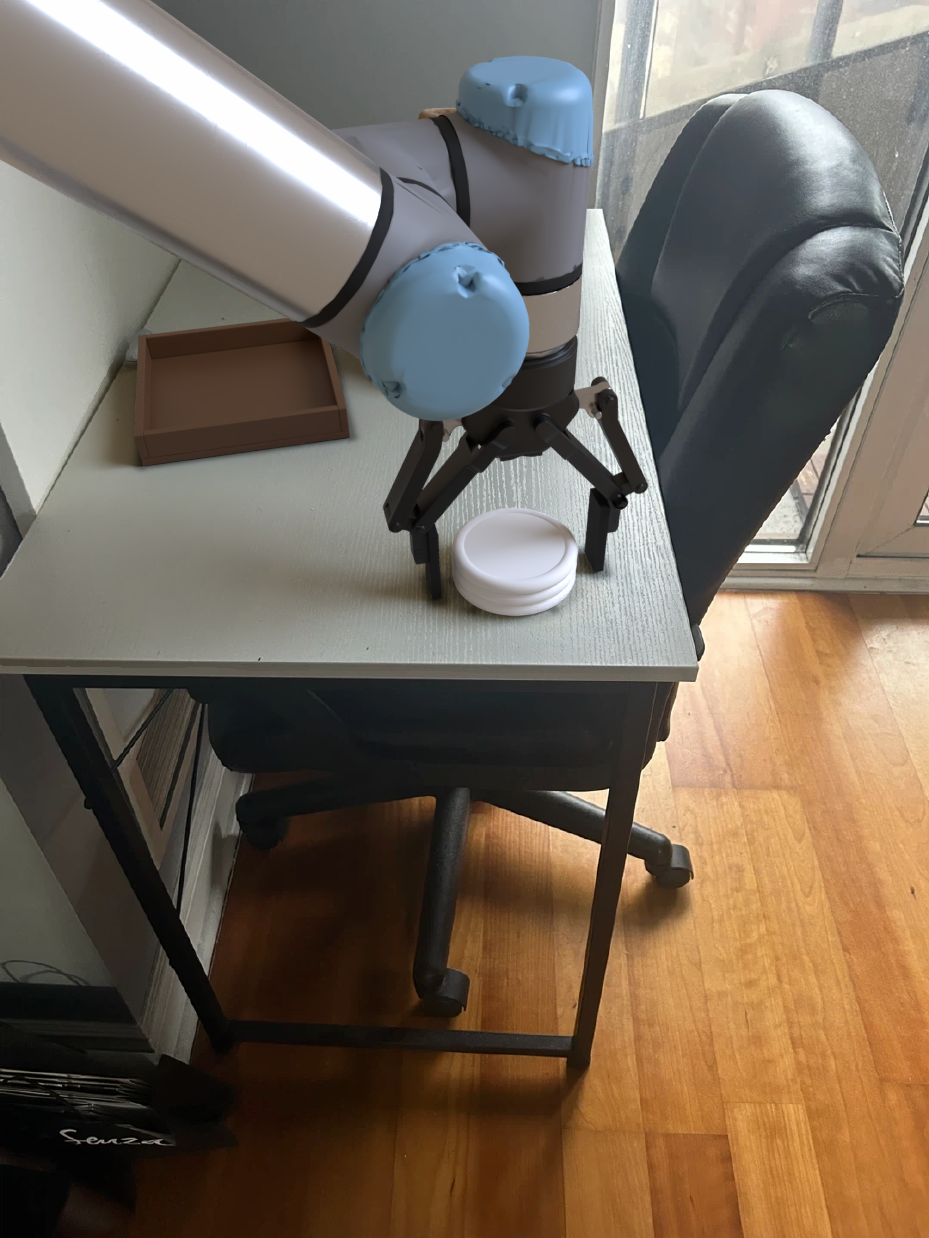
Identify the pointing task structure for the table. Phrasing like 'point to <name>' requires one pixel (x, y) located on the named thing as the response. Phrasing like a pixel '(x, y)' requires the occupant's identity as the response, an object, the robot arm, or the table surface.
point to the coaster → (514, 561)
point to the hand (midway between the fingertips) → (514, 574)
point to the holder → (235, 391)
